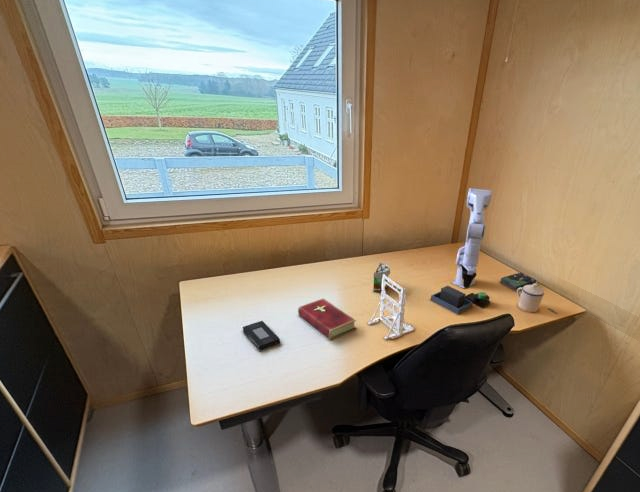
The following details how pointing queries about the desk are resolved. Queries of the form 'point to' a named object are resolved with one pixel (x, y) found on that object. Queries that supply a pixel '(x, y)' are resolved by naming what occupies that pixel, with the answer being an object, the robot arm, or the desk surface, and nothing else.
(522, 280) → the disk drive
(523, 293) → the teacup with lid
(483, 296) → the button
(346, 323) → the hardcover book
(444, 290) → the dark grey block
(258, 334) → the vhs tape
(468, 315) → the desk surface
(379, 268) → the food container
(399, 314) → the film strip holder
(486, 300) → the panel
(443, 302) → the open rectangular tray
